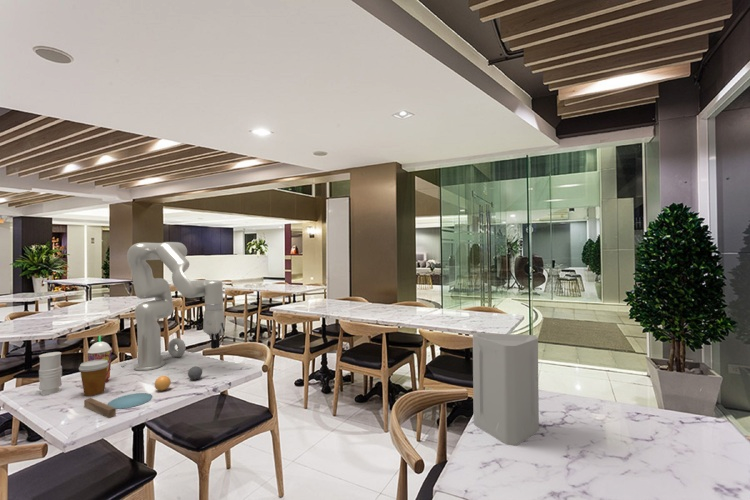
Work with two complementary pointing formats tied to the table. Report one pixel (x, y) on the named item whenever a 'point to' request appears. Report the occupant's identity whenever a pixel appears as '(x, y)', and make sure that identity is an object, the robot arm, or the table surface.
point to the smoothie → (101, 354)
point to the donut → (180, 345)
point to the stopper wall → (100, 407)
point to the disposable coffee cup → (93, 376)
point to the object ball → (162, 383)
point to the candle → (50, 373)
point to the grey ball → (195, 372)
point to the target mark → (130, 400)
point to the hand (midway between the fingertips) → (215, 347)
